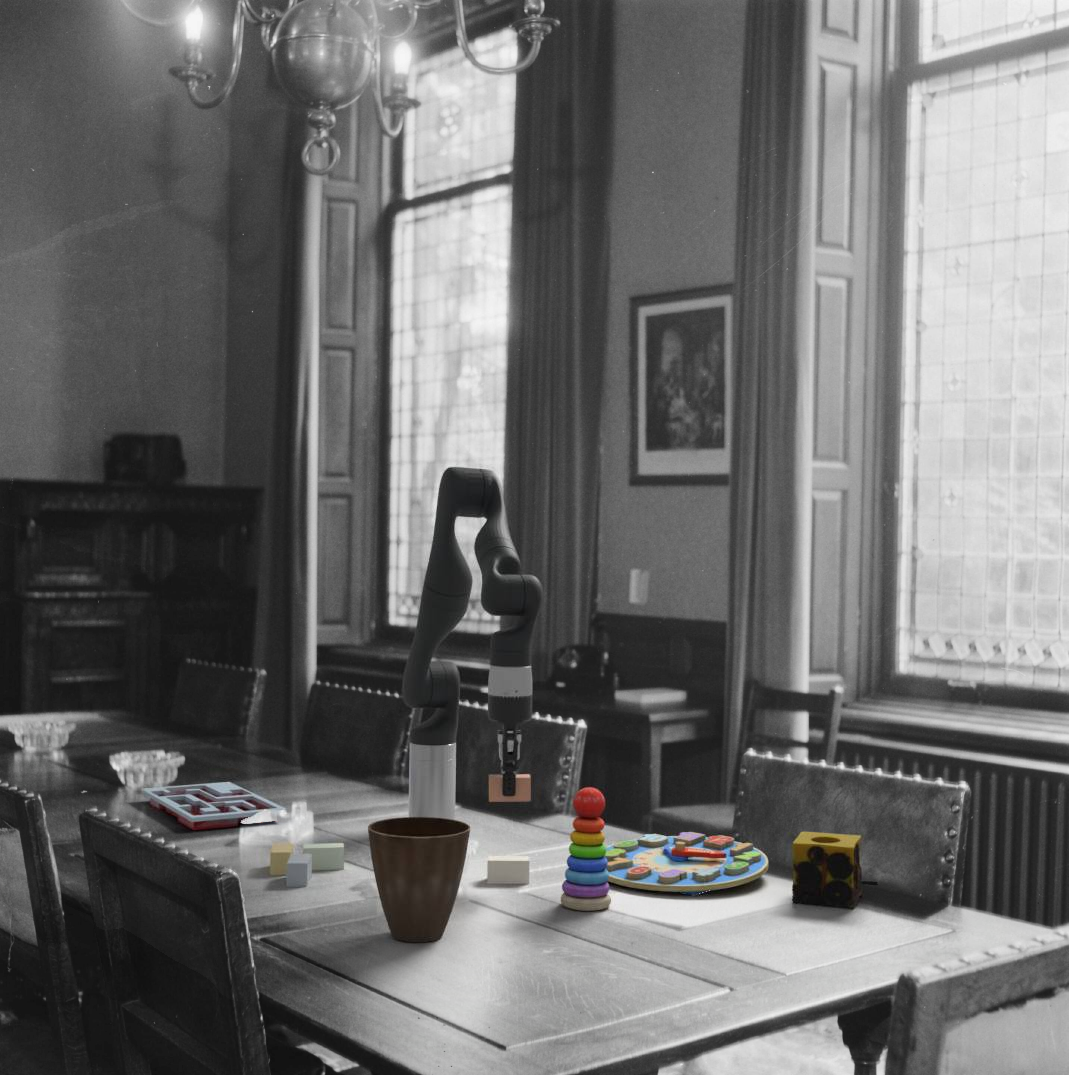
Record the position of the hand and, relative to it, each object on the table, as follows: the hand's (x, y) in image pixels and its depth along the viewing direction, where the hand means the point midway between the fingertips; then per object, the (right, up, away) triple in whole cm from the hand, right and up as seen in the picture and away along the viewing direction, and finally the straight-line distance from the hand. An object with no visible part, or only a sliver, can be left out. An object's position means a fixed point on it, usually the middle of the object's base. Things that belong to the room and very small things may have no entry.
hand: (508, 793), depth 240 cm
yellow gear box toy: (+52, -16, -9) cm, 55 cm away
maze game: (-63, -14, +55) cm, 85 cm away
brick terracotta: (0, -1, 0) cm, 1 cm away
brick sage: (-33, -15, +8) cm, 36 cm away
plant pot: (-13, -15, -34) cm, 39 cm away
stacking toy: (+13, -15, -15) cm, 25 cm away
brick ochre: (-39, -14, +5) cm, 42 cm away
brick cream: (0, -15, 0) cm, 15 cm away
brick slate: (-35, -14, -3) cm, 38 cm away
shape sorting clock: (+30, -16, +6) cm, 34 cm away
